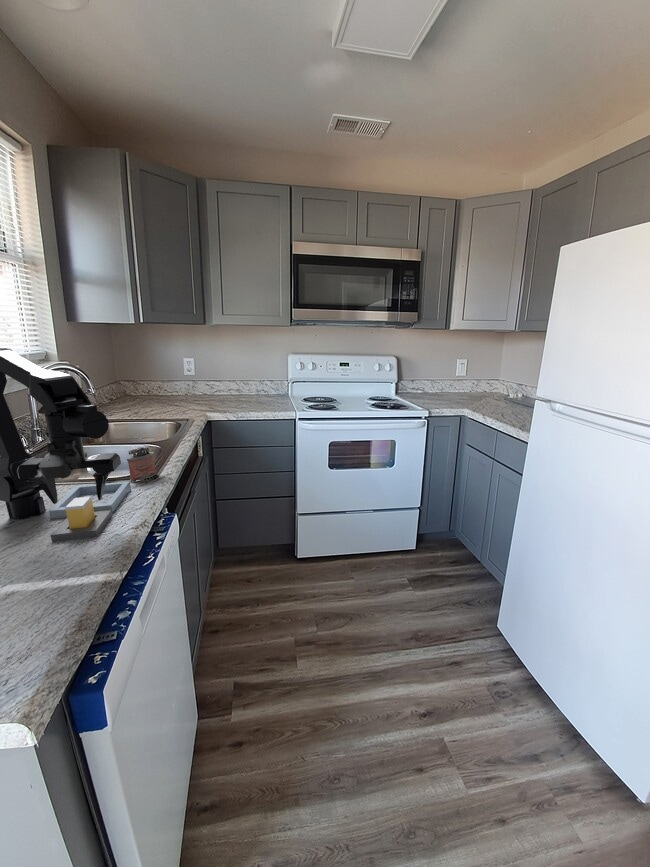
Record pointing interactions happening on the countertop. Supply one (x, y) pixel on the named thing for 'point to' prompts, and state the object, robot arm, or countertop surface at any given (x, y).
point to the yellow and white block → (80, 512)
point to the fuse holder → (77, 533)
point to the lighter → (141, 463)
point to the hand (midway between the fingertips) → (78, 501)
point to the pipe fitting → (90, 470)
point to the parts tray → (85, 490)
